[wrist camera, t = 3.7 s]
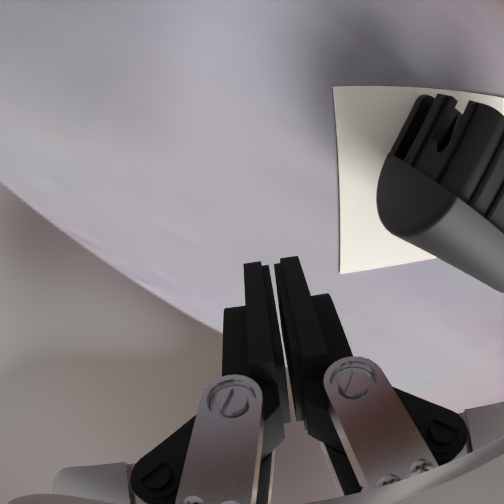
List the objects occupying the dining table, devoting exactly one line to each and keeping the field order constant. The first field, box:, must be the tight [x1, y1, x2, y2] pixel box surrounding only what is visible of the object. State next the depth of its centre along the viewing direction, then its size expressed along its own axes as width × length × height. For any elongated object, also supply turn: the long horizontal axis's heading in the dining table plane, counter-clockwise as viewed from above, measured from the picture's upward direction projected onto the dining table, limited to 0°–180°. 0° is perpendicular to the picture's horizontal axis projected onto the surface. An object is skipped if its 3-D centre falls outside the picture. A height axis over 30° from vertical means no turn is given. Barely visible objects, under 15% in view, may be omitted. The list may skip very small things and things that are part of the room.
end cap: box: [376, 94, 504, 293], centre depth 13 cm, size 10×7×7 cm
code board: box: [333, 86, 504, 274], centre depth 16 cm, size 11×14×1 cm
